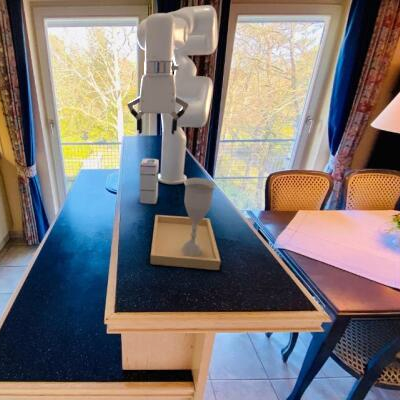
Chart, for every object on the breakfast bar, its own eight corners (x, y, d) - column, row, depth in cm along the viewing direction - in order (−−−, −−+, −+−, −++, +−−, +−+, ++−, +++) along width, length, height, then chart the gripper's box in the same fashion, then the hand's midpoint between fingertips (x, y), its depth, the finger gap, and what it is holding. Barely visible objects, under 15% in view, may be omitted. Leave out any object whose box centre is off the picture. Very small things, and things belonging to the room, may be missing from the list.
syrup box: (156, 204, 91) (157, 163, 84) (139, 203, 92) (139, 162, 85) (157, 197, 96) (159, 158, 89) (141, 196, 97) (142, 157, 90)
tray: (155, 222, 80) (155, 214, 79) (208, 226, 78) (209, 218, 76) (150, 264, 62) (150, 255, 61) (218, 270, 60) (220, 261, 59)
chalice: (172, 245, 68) (177, 180, 60) (194, 240, 70) (202, 176, 62) (188, 262, 62) (196, 192, 54) (212, 255, 64) (223, 187, 56)
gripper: (190, 69, 74) (185, 131, 81) (129, 69, 76) (129, 130, 84) (192, 69, 67) (186, 136, 75) (125, 69, 69) (126, 135, 77)
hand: (156, 133), depth 79 cm, fingers open, 9 cm apart
